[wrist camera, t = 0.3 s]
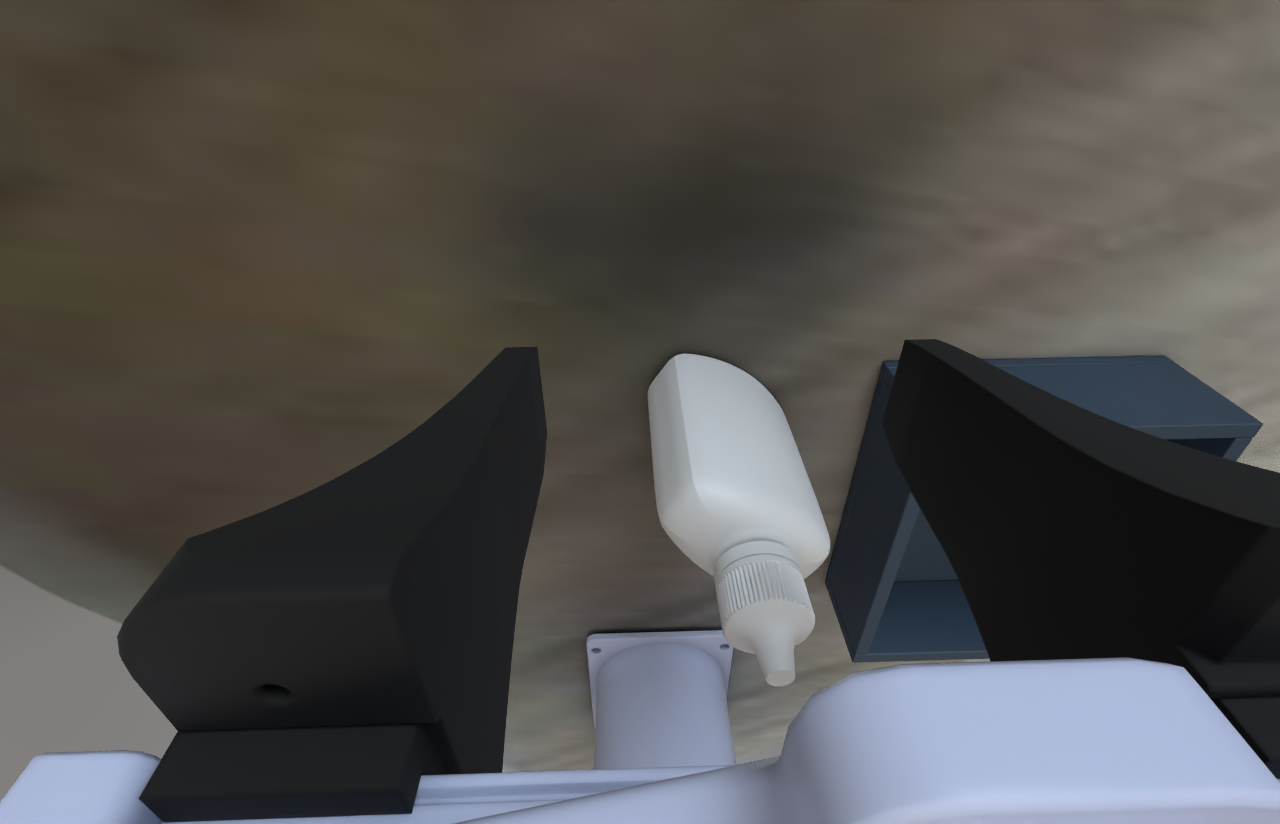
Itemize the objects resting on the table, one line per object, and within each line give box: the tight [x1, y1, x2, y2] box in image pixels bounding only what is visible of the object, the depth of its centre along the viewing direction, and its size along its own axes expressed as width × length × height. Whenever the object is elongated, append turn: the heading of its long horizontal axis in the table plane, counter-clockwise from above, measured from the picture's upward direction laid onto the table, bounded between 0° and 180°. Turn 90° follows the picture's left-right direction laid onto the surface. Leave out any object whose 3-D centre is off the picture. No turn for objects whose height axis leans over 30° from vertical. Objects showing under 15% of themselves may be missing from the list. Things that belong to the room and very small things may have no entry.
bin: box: [825, 356, 1263, 662], centre depth 26 cm, size 13×11×4 cm
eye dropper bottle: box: [648, 353, 830, 686], centre depth 20 cm, size 4×6×12 cm
